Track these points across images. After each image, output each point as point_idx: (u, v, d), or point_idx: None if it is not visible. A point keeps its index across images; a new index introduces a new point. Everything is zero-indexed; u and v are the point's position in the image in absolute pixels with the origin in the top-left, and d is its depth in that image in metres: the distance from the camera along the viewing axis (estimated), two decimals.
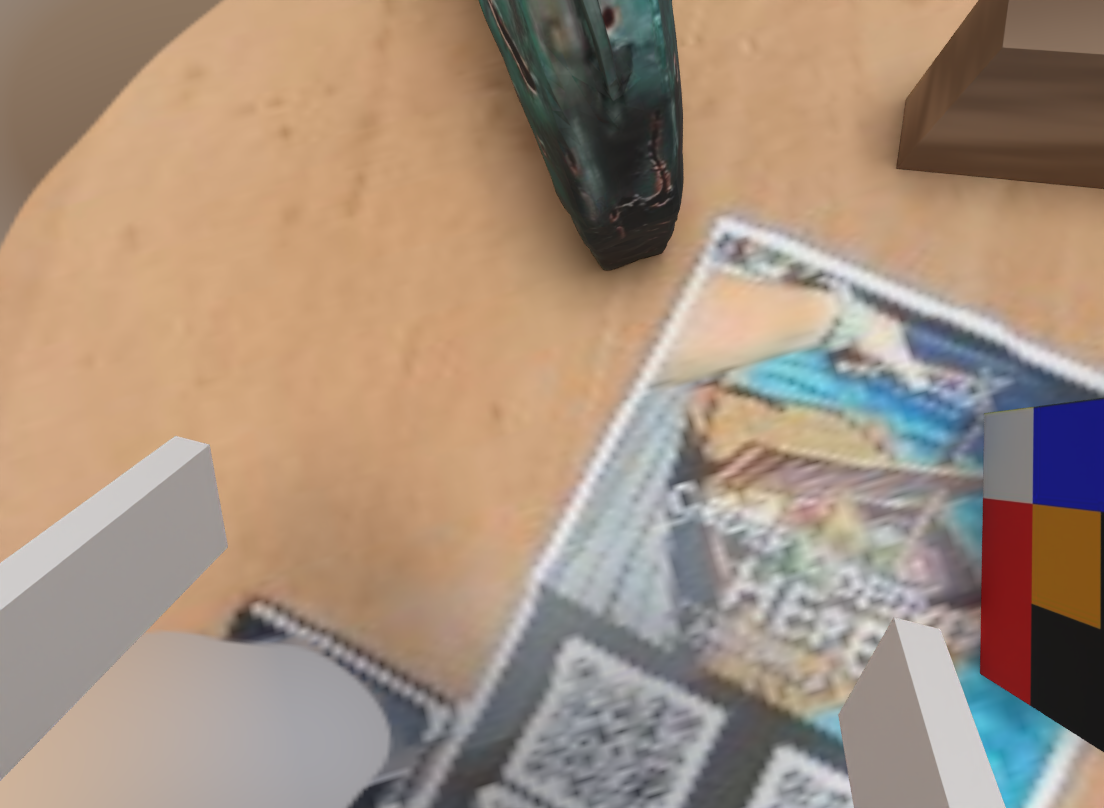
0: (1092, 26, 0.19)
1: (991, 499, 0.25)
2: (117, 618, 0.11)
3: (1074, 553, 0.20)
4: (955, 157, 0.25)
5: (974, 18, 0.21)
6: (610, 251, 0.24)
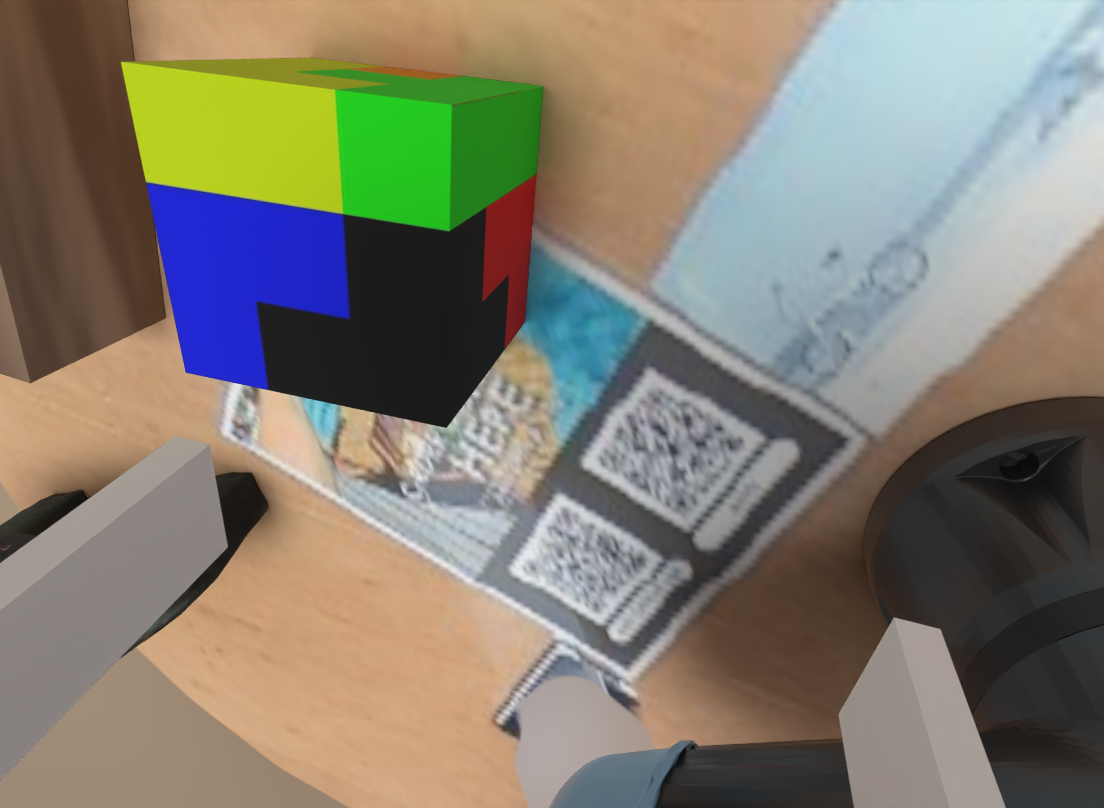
0: (1, 331, 0.27)
1: None
2: (117, 619, 0.11)
3: None
4: (142, 298, 0.33)
5: None
6: (232, 543, 0.37)
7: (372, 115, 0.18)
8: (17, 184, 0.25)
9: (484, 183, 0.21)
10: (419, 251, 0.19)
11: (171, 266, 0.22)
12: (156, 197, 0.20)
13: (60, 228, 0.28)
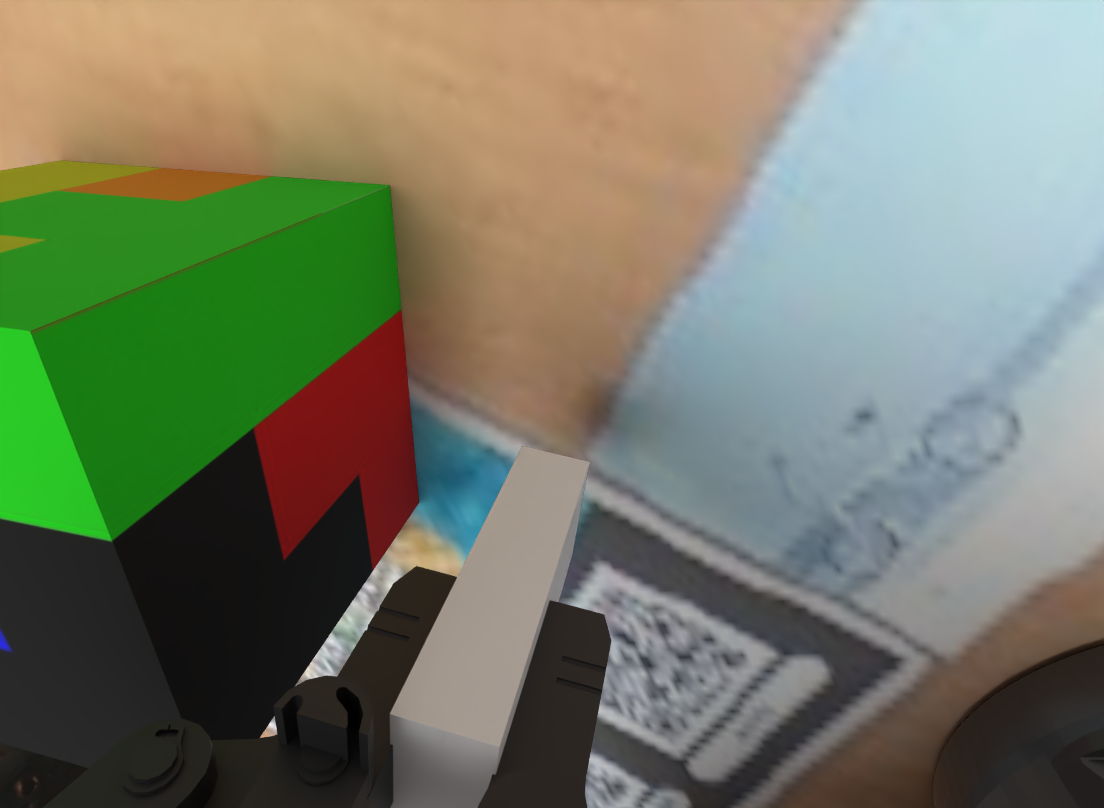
0: None
1: None
2: None
3: None
4: None
5: None
6: None
7: None
8: None
9: (233, 399, 0.12)
10: (75, 567, 0.10)
11: None
12: None
13: None
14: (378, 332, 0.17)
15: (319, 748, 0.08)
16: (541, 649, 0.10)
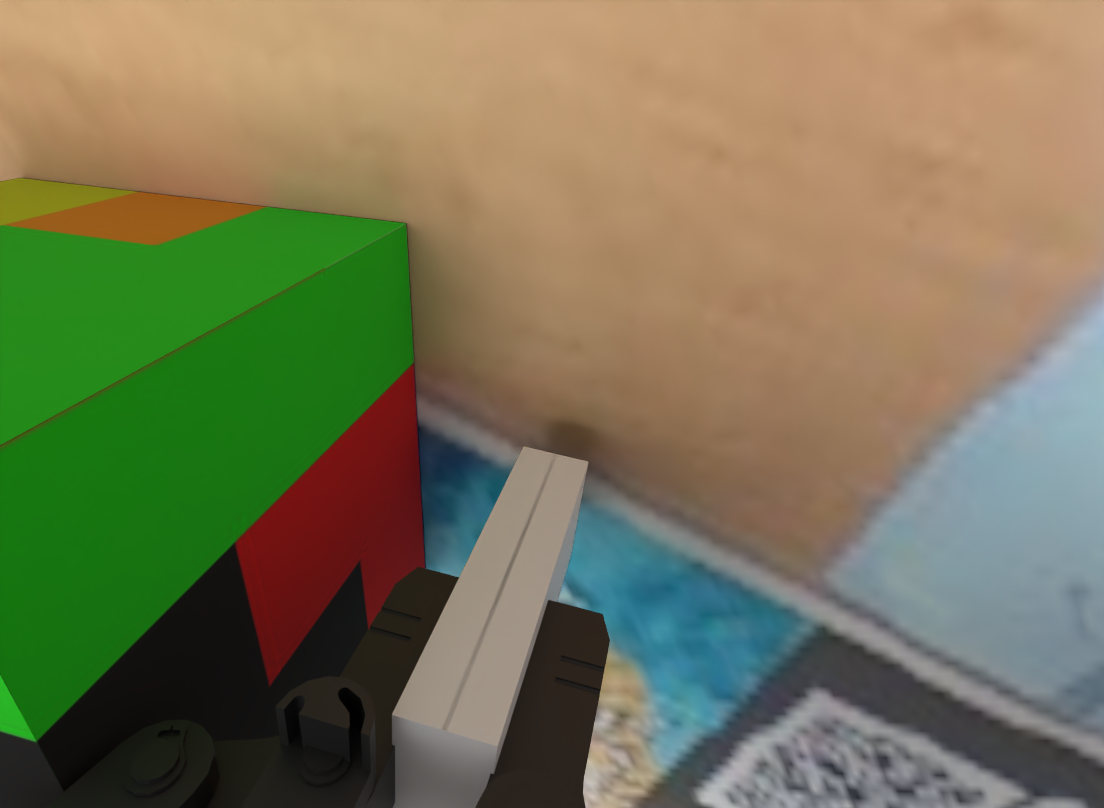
0: None
1: None
2: None
3: None
4: None
5: None
6: None
7: None
8: None
9: (209, 515, 0.09)
10: None
11: None
12: None
13: None
14: (386, 394, 0.14)
15: (321, 749, 0.08)
16: (539, 649, 0.10)
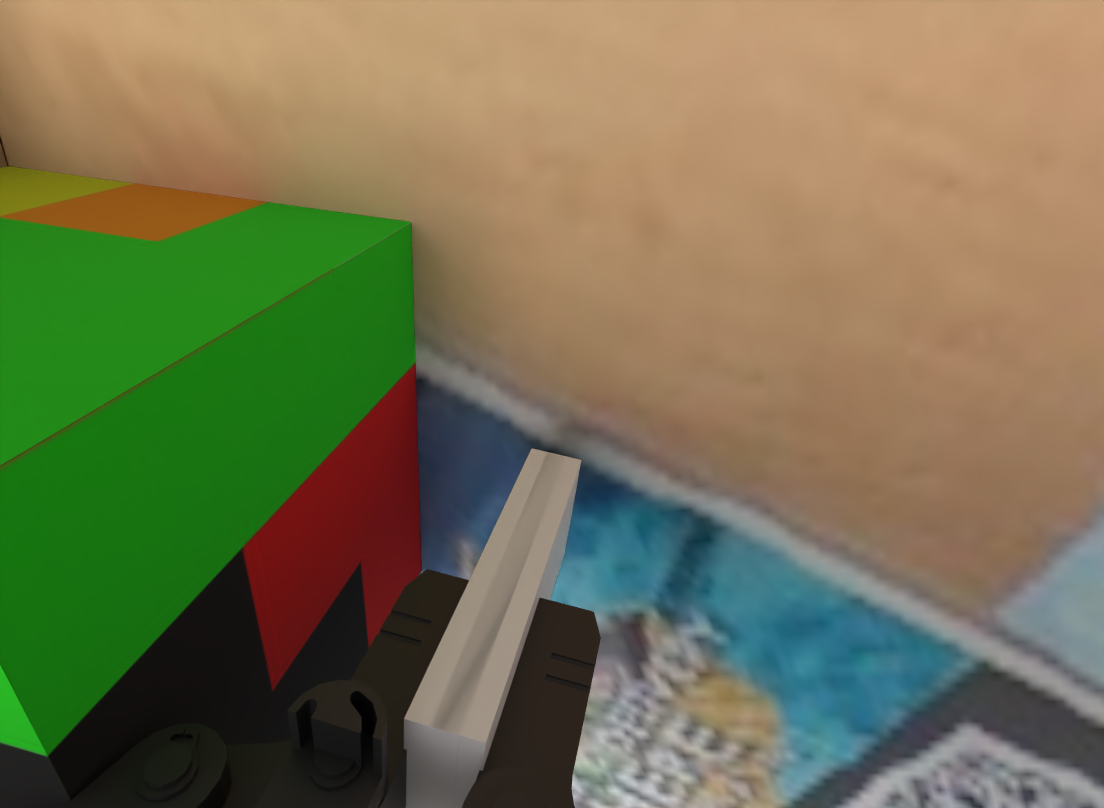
0: None
1: None
2: None
3: None
4: None
5: None
6: None
7: None
8: None
9: (218, 520, 0.09)
10: None
11: None
12: None
13: None
14: (389, 395, 0.14)
15: (333, 752, 0.08)
16: (530, 646, 0.10)
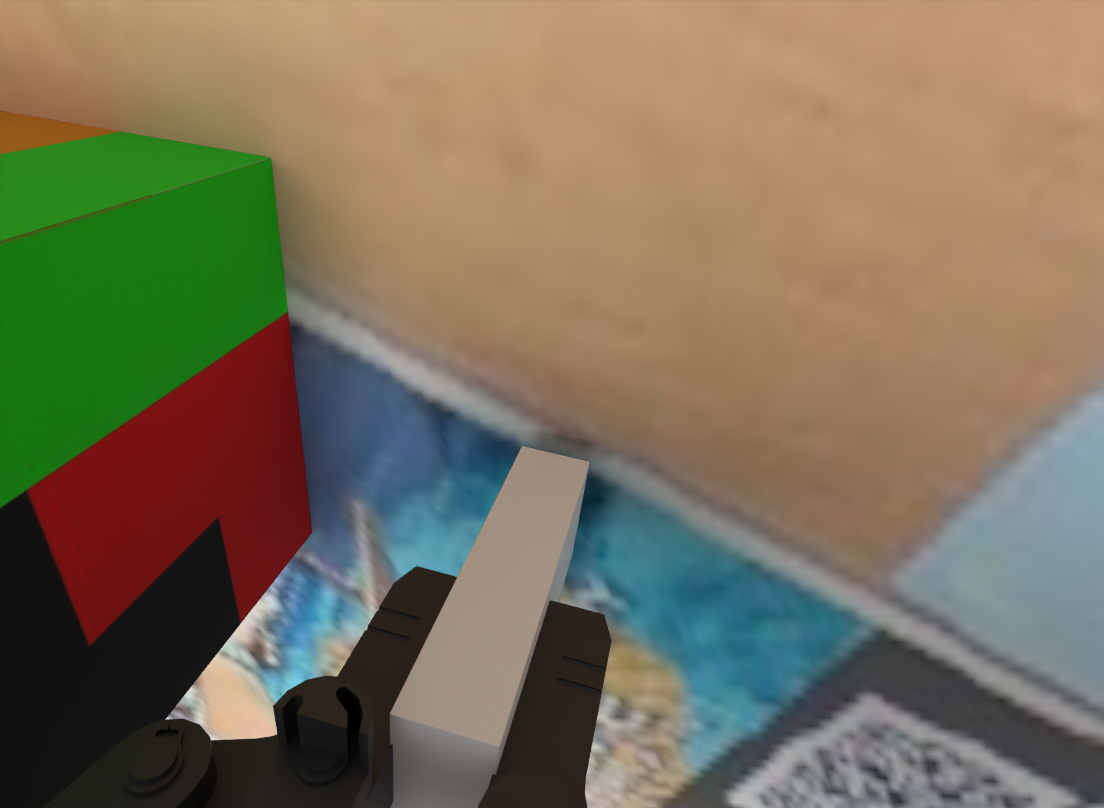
0: None
1: None
2: None
3: None
4: None
5: None
6: None
7: None
8: None
9: None
10: None
11: None
12: None
13: None
14: (251, 342, 0.13)
15: (319, 748, 0.08)
16: (541, 649, 0.10)
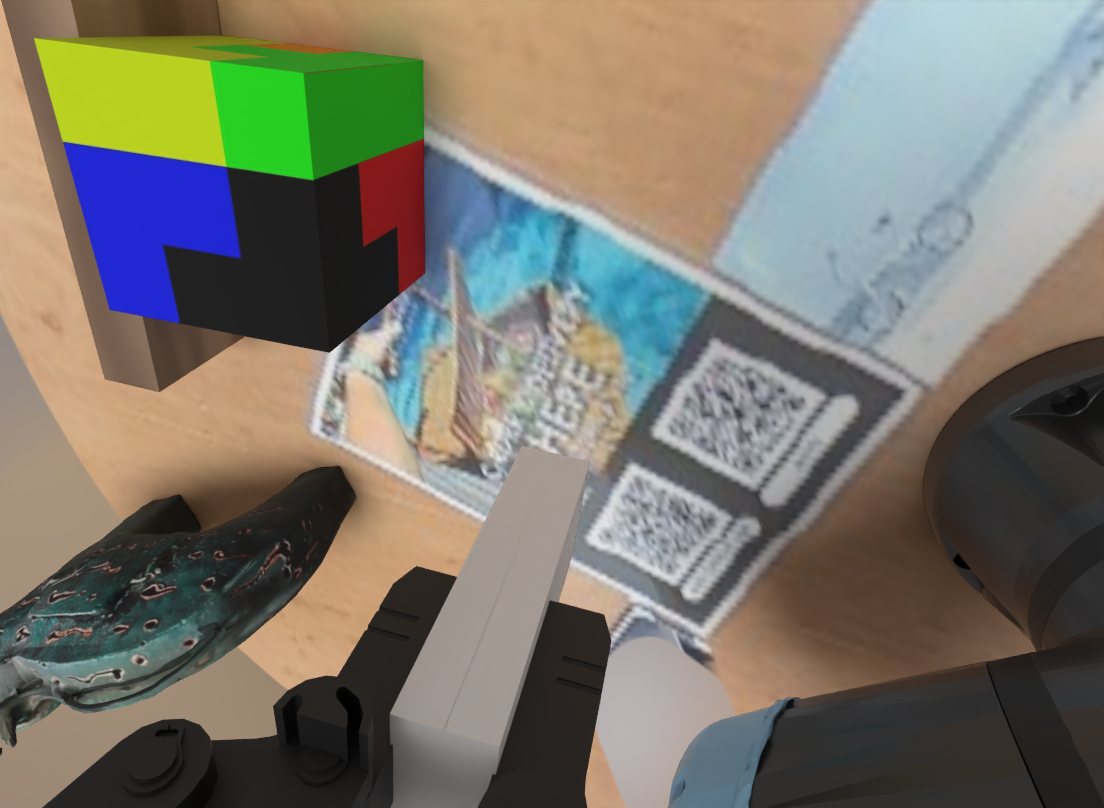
0: (134, 346, 0.31)
1: None
2: None
3: None
4: None
5: None
6: (331, 531, 0.40)
7: (242, 81, 0.21)
8: None
9: (353, 143, 0.25)
10: (291, 197, 0.23)
11: (89, 215, 0.25)
12: (72, 155, 0.24)
13: None
14: (411, 145, 0.30)
15: (319, 748, 0.08)
16: (541, 649, 0.10)
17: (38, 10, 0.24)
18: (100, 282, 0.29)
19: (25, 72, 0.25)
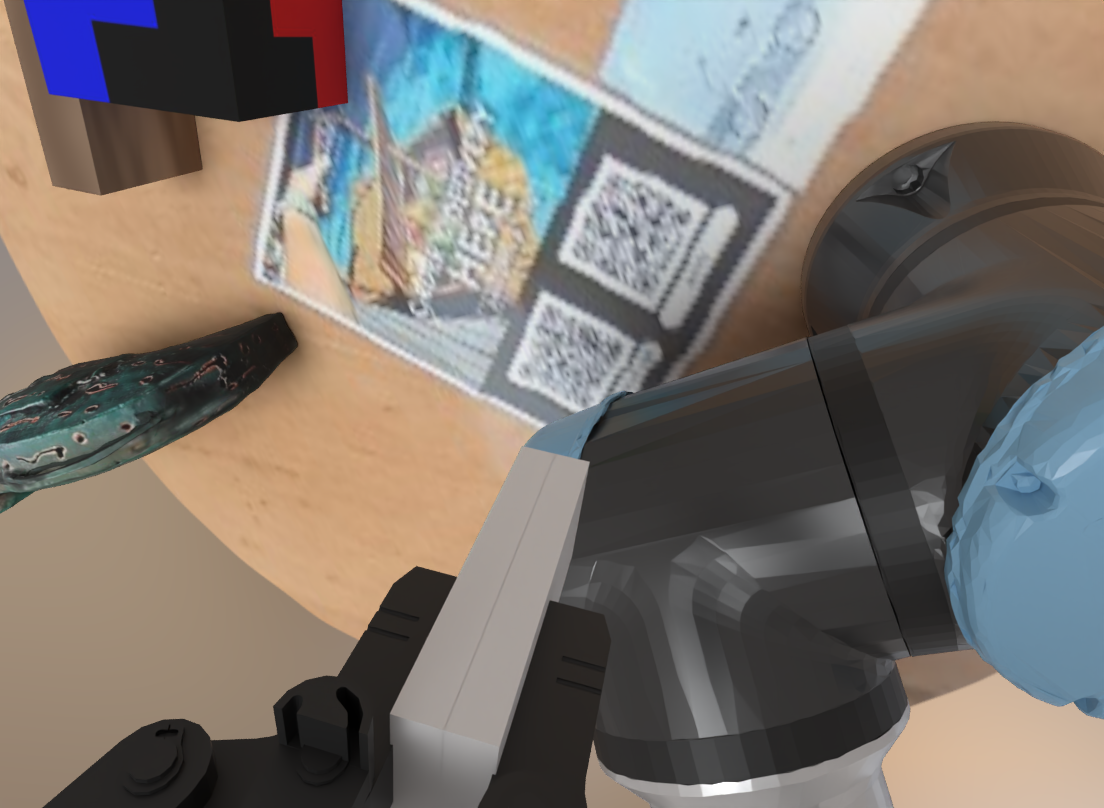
0: (77, 148, 0.34)
1: None
2: None
3: None
4: (182, 145, 0.40)
5: None
6: (270, 363, 0.43)
7: None
8: None
9: None
10: None
11: None
12: None
13: None
14: None
15: (319, 748, 0.08)
16: (541, 649, 0.10)
17: None
18: (44, 81, 0.33)
19: None
